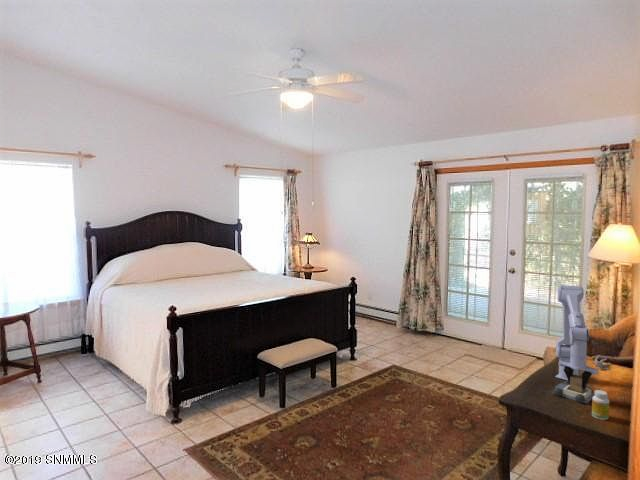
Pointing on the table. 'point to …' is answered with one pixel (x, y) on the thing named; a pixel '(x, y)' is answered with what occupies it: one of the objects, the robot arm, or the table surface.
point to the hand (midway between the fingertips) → (577, 386)
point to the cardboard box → (576, 383)
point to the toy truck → (573, 393)
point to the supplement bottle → (600, 405)
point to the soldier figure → (599, 363)
